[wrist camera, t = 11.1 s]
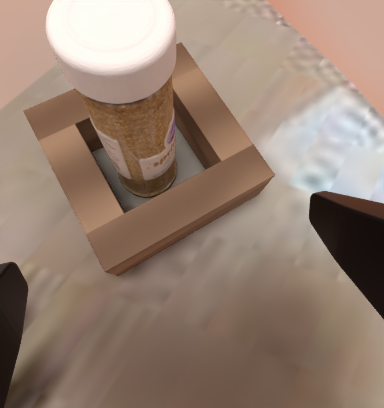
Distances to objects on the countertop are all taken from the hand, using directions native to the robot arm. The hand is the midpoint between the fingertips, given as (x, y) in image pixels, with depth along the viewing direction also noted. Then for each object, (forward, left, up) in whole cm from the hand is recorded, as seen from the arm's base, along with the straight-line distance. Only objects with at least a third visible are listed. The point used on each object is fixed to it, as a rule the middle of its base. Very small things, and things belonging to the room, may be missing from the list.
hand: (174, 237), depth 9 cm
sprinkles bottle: (+8, -2, -13) cm, 15 cm away
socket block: (+8, -2, -13) cm, 15 cm away
